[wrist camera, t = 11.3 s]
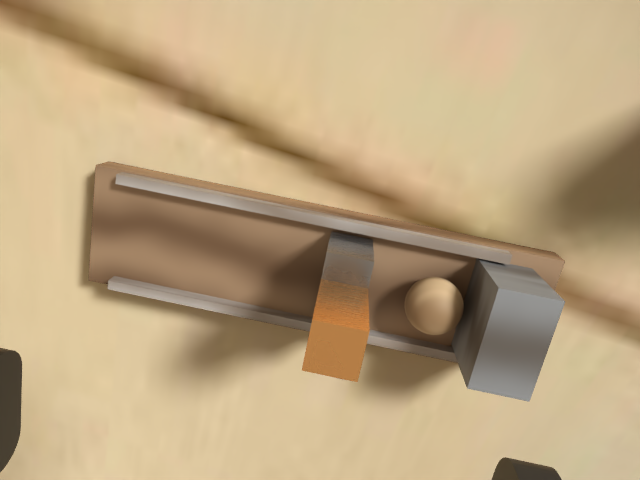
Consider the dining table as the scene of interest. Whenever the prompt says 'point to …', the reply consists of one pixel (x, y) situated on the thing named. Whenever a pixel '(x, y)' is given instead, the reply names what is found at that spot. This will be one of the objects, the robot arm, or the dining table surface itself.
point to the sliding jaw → (341, 309)
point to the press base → (307, 266)
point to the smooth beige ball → (434, 305)
